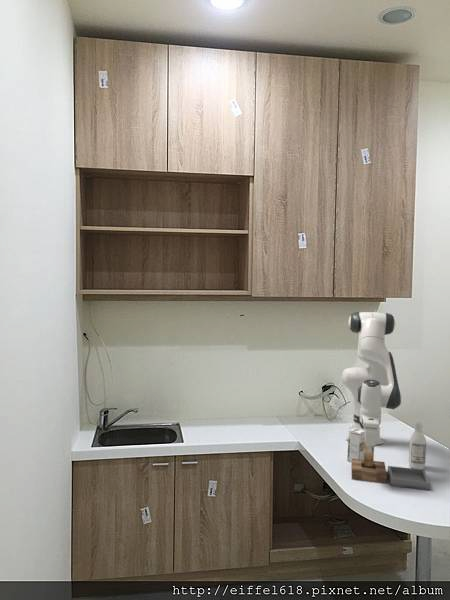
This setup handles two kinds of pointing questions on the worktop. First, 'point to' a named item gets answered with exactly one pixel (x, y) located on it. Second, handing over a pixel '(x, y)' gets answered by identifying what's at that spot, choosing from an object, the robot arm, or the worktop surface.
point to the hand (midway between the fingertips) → (369, 449)
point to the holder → (369, 471)
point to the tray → (408, 478)
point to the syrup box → (356, 444)
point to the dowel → (368, 456)
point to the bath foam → (417, 448)
